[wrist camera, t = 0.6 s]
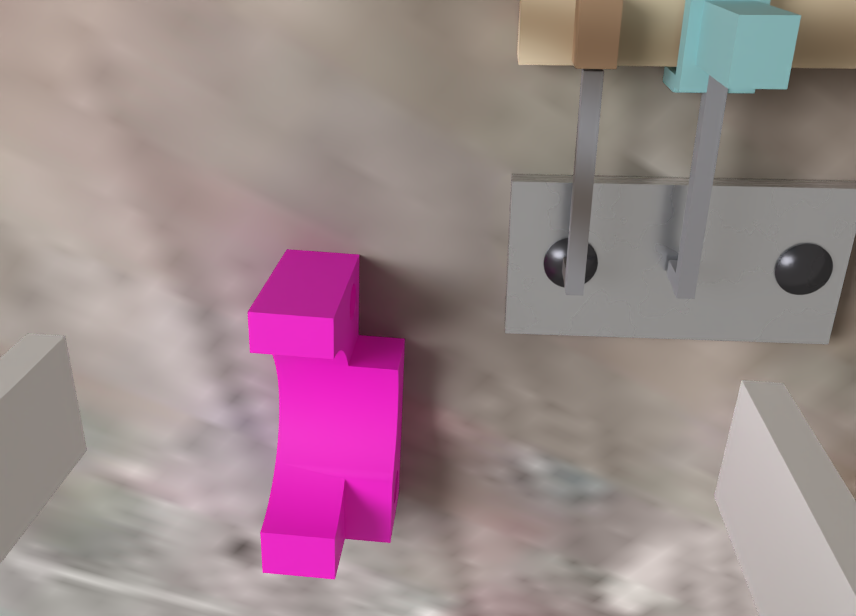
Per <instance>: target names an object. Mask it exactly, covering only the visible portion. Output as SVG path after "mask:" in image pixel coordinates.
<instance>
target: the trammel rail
mask: <svg viewBox="0 0 856 616" xmlns="http://www.w3.org/2000/svg"><path fill="white" fill-rule="evenodd" d="M770 5H771V6H774V7H777V8H780V9H783V10H786V11H790V12H793V13H796V14H799V15H801V19H800V24H799V30H798V35H797V40H796V45H795V50H794V56H793V61H792V66H791V68H841V69H856V0H771V1H770ZM684 7H685V0H520V6H519V28H518V49H517V57H518V64H519V65H574V66H575V68H576V69H582V76H581V88H580V100H579V113H578V125H577V138H576V150H575V162H574V175H573V187H572V200H571V212H570V224H569V237H568V249H567V257H563V266H562V275H563V280H564V288H565V294H566V295H583V294H584V283H585V272H586V261H587V250H588V239H589V229H590V218H591V207H592V196H593V185H594V174H595V164H596V153H597V142H598V131H599V120H600V109H601V99H602V88H603V77H604V71H603V69H617V66H669V67H677V61H678V53H679V46H680V38H681V30H682V23H683V15H684Z"/></svg>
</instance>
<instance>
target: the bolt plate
mask: <svg viewBox="0 0 856 616" xmlns="http://www.w3.org/2000/svg"><path fill="white" fill-rule="evenodd" d="M688 185H689V178H672V177H625V176H594V185H593V196H592V207H591V218H590V229H589V239H588V250H587V261H586V272H585V283H584V294H583V295H566V294H565V288H564V280H563V275H562V266H563V257H567V249H568V237H569V224H570V212H571V200H572V187H573V175H529V174H512V180H511V202H510V223H509V245H508V267H507V288H506V310H505V333H516V334H545V335H574V336H603V337H632V338H662V339H691V340H720V341H749V342H778V343H807V344H828V343H829V339H830V335H831V331H832V327H833V323H834V319H835V315H836V311H837V307H838V303H839V298H840V294H841V290H842V286H843V282H844V278H845V274H846V270H847V266H848V262H849V258H850V254H851V250H852V246H853V242H854V238H855V234H856V181H816V180H768V179H720V178H714V180H713V186H712V192H711V198H710V205H709V211H708V217H707V224H706V230H705V236H704V242H703V249H702V255H701V261H700V267H699V274H698V280H697V286H696V292H695V299H680V298H676V296H675V294H674V292H673V287H672V285H671V283H670V281H669V279H668V277H667V270H668V263H669V260H678V254H679V247H680V240H681V233H682V226H683V220H684V213H685V206H686V199H687V192H688Z"/></svg>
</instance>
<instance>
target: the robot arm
mask: <svg viewBox="0 0 856 616" xmlns="http://www.w3.org/2000/svg"><path fill="white" fill-rule="evenodd" d="M86 451H87V448H86V443H85V437H84V432H83V427H82V421H81V416H80V411H79V406H78V400H77V395H76V390H75V385H74V379H73V374H72V369H71V363H70V358H69V353H68V348H67V342H66V337H65V336H61V335H46V334H31V333H27V334H26V335H25V336H24V337H23V338H22V339H21V340H20V341H18V342H17V343H16V344H15V345H14V346H13V347H12V348H11V349H10V350H8V351H7V352H6V353H5V354H4V355H3V356H2V357H1V358H0V563H1V562H2V561H3V560H4V558H5V557H6V556H7V554H8V553H9V552H10V550H11V549H12V548H13V546H14V545H15V544H16V543H17V541H18V540H19V539H20V537H21V536H22V535H23V533H24V532H25V531H26V529H27V528H28V527H29V525H30V524H31V523H32V522H33V520H34V519H35V518H36V516H37V515H38V514H39V512H40V511H41V510H42V508H43V507H44V506H45V504H46V503H47V502H48V501H49V499H50V498H51V497H52V495H53V494H54V493H55V491H56V490H57V489H58V487H59V486H60V485H61V483H62V482H63V481H64V480H65V478H66V477H67V476H68V474H69V473H70V472H71V470H72V469H73V468H74V466H75V465H76V464H77V462H78V461H79V460H80V459H81V457H82V456H83V455H84V453H85V452H86ZM714 497H715V500H716V502H717V505H718V508H719V510H720V513H721V516H722V518H723V521H724V524H725V526H726V529H727V532H728V534H729V537H730V540H731V542H732V545H733V548H734V550H735V553H736V556H737V558H738V561H739V564H740V566H741V569H742V572H743V574H744V577H745V580H746V582H747V585H748V588H749V590H750V593H751V596H752V598H753V601H754V604H755V606H756V609H757V612H758V614H759V616H856V501H855V499H854V498H853V496H852V494H851V493H850V491H849V489H848V488H847V486H846V485H845V483H844V481H843V480H842V478H841V476H840V475H839V473H838V472H837V470H836V468H835V467H834V465H833V463H832V462H831V460H830V458H829V457H828V455H827V454H826V452H825V450H824V449H823V447H822V445H821V444H820V442H819V441H818V439H817V437H816V436H815V434H814V432H813V431H812V429H811V427H810V426H809V424H808V423H807V421H806V419H805V418H804V416H803V414H802V413H801V411H800V410H799V408H798V406H797V405H796V403H795V401H794V400H793V398H792V396H791V395H790V393H789V392H788V390H787V388H786V387H785V385H784V383H777V382H762V381H747V380H742V381H741V385H740V390H739V394H738V398H737V402H736V406H735V411H734V415H733V419H732V423H731V427H730V432H729V436H728V440H727V444H726V448H725V453H724V457H723V461H722V465H721V469H720V474H719V478H718V482H717V486H716V490H715V495H714Z"/></svg>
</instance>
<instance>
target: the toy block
mask: <svg viewBox="0 0 856 616" xmlns="http://www.w3.org/2000/svg"><path fill="white" fill-rule="evenodd" d="M248 327H249V344H250V353H261V354H272V355H273V358H274V361H275V365H276V370H277V376H278V386H279V433H278V446H277V455H276V464H275V471H274V477H273V483H272V488H271V494H270V498H269V503H268V507H267V511H266V515H265V519H264V522H263V526H262V529H261V532H260V534H261V551H262V569H263V573H272V574H283V575H294V576H304V577H315V578H326V579H335V577H336V573H337V569H338V565H339V560H340V556H341V552H342V548H343V544H344V540H345V539H353V540H364V541H375V542H387V543H390V542H391V536H392V530H393V524H394V518H395V512H396V506H397V500H398V494H399V476H400V451H401V425H402V399H403V373H404V347H405V339H402V338H390V337H377V336H364V335H359V255H357V254H343V253H329V252H315V251H302V250H288V249H287V250H286V252H285V253H284V255H283V256H282V258H281V260H280V261H279V263H278V264H277V266H276V268H275V269H274V271H273V272H272V274H271V276H270V277H269V279H268V280H267V282H266V284H265V285H264V287H263V288H262V290H261V291H260V293H259V295H258V296H257V298H256V299H255V301H254V303H253V304H252V306H251V307H250V309H249V311H248Z"/></svg>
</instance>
